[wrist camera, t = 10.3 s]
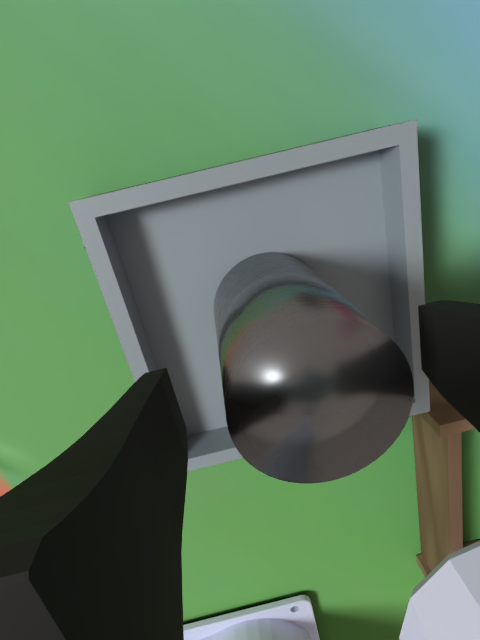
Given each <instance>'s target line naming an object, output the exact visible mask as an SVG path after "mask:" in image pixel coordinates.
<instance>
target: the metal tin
mask: <svg viewBox="0 0 480 640" xmlns="http://www.w3.org/2000/svg"><path fill="white" fill-rule="evenodd" d="M214 318H215V327H216V336H217V344H218V353H219V362H220V370H221V379H222V387H223V396H224V405H225V413H226V421H227V426H228V431H229V434H230V437H231V439H232V442H233V443H234V445H235V447H236V449H237V450H238V452H239V453H240V454H241V455H242V457H243V458H244V459H245V460H246V461H247V462H248V463H249V464H251V465H252V466H253V467H255V468H256V469H257V470H259V471H261V472H263V473H264V474H266V475H268V476H271V477H274V478H276V479H279V480H283V481H288V482H294V483H320V482H326V481H331V480H336V479H339V478H342V477H345V476H348V475H350V474H352V473H355V472H357V471H359V470H361V469H362V468H364V467H366V466H367V465H369V464H370V463H372V462H373V461H375V460H376V459H377V458H379V457H380V456H381V455H382V454H383V453H384V452H385V451H386V450H387V449H388V448H389V447H390V446H391V445H392V444H393V443H394V441H395V440H396V439H397V437H398V436H399V435H400V433H401V431H402V430H403V428H404V426H405V424H406V422H407V420H408V417H409V415H410V411H411V408H412V403H413V397H414V383H413V375H412V372H411V368H410V365H409V363H408V361H407V359H406V357H405V355H404V353H403V352H402V351H401V349H400V348H399V346H398V345H397V344H396V343H395V342H394V341H393V340H392V339H391V338H390V337H389V336H387V335H386V334H385V333H384V332H383V331H382V330H381V329H380V328H378V327H377V326H376V325H375V324H374V323H373V322H372V321H371V320H369V319H368V318H367V317H366V316H365V315H364V314H363V313H361V312H360V311H359V310H358V309H357V308H356V307H355V306H354V305H352V304H351V303H350V302H349V301H348V300H347V299H346V298H345V297H343V296H342V295H341V294H340V293H339V292H338V291H337V290H336V289H334V288H333V287H332V286H331V285H330V284H329V283H328V282H327V281H325V280H324V279H323V278H322V277H321V276H320V275H319V274H318V273H316V272H315V271H314V270H313V269H312V268H311V267H310V266H308V265H307V264H306V263H305V262H303V261H302V260H300V259H298V258H296V257H294V256H292V255H289V254H285V253H279V252H265V253H260V254H256V255H253V256H250V257H248V258H246V259H244V260H242V261H241V262H239V263H237V264H236V265H235V266H234V267H233V268H231V269H230V271H229V272H228V273H227V274H226V275H225V276H224V278H223V279H222V281H221V283H220V285H219V286H218V289H217V292H216V295H215V299H214Z"/></svg>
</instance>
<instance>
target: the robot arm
mask: <svg viewBox="0 0 480 640" xmlns="http://www.w3.org/2000/svg"><path fill="white" fill-rule="evenodd" d="M418 315H419V332H420V350H421V368H422V370H423V372H424V373H425V375H426V376H427V377H428V379H429V380H430V381H431V383H432V384H433V385H434V386H435V388H436V389H437V390H438V391H439V393H440V394H441V395H442V396H443V397H444V398H445V399H446V400H447V401H448V402H449V403H450V404H451V405H452V406H453V407H454V408H455V409H456V410H457V411H458V412H459V413H460V414H461V415H462V416H463V417H464V418H465V419H466V420H467V421H468V422H470V423H471V424H472V425H473V426H474V427H475V428H476V429H477V430H478V431H479V432H480V304H474V303H467V302H458V301H436V302H431V303H427V304H423V305H419V306H418ZM187 467H188V446H187V431H186V425H185V422H184V419H183V416H182V413H181V410H180V407H179V404H178V401H177V398H176V395H175V392H174V389H173V386H172V383H171V380H170V377H169V374H168V371H167V368H163V369H159V370H155V371H151V372H147V373H144V374H143V375H142V376H141V377H140V378H139V379H138V380H137V381H136V382H135V383H134V384H133V385H132V386H131V387H130V388H129V389H128V391H127V392H126V393H125V394H124V395H123V396H122V397H121V398H120V399H119V400H118V401H117V402H116V403H115V404H114V405H113V407H112V408H111V409H110V410H109V411H108V412H107V413H106V414H105V415H104V416H103V417H102V418H101V419H100V420H99V421H97V422H96V423H95V424H94V425H93V426H92V427H91V428H90V429H89V430H88V431H87V432H86V433H85V434H84V435H83V436H82V437H81V438H80V439H78V440H77V441H76V442H75V443H74V444H73V445H71V446H70V447H69V448H68V449H67V450H65V451H64V452H63V453H62V454H60V455H59V456H58V457H57V458H55V459H54V460H53V461H52V462H50V463H49V464H48V465H46V466H45V467H43V468H42V469H40V470H39V471H38V472H36V473H35V474H33V475H32V476H30V477H29V478H28V479H26V480H25V481H23V482H22V483H20V484H19V485H17V486H16V487H15V488H13V489H12V490H10V491H9V492H7V493H5V494H4V495H3V496H1V497H0V640H320V638H319V634H318V630H317V625H316V621H315V617H314V612H313V608H312V604H311V600H310V598H309V597H308V596H307V595H299V596H295V597H291V598H287V599H283V600H279V601H275V602H271V603H267V604H263V605H259V606H256V607H252V608H248V609H244V610H240V611H236V612H232V613H228V614H224V615H220V616H216V617H212V618H208V619H205V620H201V621H197V622H193V623H189V624H185V625H183V605H182V565H181V545H182V527H183V515H184V504H185V492H186V480H187ZM399 640H480V541H478V542H475V543H473V544H471V545H469V546H467V547H464V548H462V549H460V550H458V551H455V552H453V553H451V554H449V555H447V556H446V557H445V558H444V559H443V560H442V561H441V562H440V563H439V564H438V565H437V566H436V567H435V568H434V569H433V570H432V571H431V572H430V573H429V574H428V575H427V576H426V577H425V578H424V579H423V580H422V581H421V582H420V583H419V584H418V585H417V586H416V587H415V588H414V590H413V592H412V595H411V597H410V600H409V604H408V607H407V611H406V615H405V618H404V622H403V625H402V629H401V633H400V636H399Z"/></svg>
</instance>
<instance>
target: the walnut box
mask: <svg viewBox="0 0 480 640" xmlns="http://www.w3.org/2000/svg"><path fill="white" fill-rule="evenodd" d="M429 394H430V411H429V412H425V413H421V414H417V415H413V416H412V422H413V437H414V452H415V466H416V481H417V496H418V510H419V525H420V540H421V554H420V555H416V556H417V563H418V565H419V567H420V569H421V570H422V572H423V574H424V576H425V577H426V576H427V575H428V574H429V573H430V572H431V571H432V570H433V569H434V568H435V567H436V566H437V565H438V564H439V563H440V562H441V561H442V560H443V559H444V558H445V557H446V556H447V555H449V554H451V553H453V552H455V551H458V550H460V549H462V548H464V547H467V546H469V545H471V544H473V543H475V542H478V541H480V539H479V540H475V541H471V542H467V543H463V521H462V436H461V432H464V431H468V430H472V429H476V428H475V427H474V426H473V425H472V424H471V423H470V422H468V421H467V420H466V419H465V418H464V417H463V416H462V415H461V414H460V413H459V412H458V411H457V410H456V409H455V408H454V407H453V406H452V405H451V404H450V403H449V402H448V401H447V400H446V399H445V398H444V397H443V396H442V395H441V394H440V393H439V391H438V390H437V389H436V388H435V386H434V385H433V384H432V383H431V381H429Z"/></svg>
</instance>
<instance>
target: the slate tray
mask: <svg viewBox="0 0 480 640" xmlns="http://www.w3.org/2000/svg"><path fill="white" fill-rule="evenodd" d="M69 205H70V208H71V210H72V213H73V216H74V218H75V221H76V224H77V227H78V229H79V232H80V235H81V237H82V240H83V243H84V246H85V248H86V251H87V254H88V256H89V259H90V262H91V264H92V267H93V270H94V273H95V275H96V278H97V281H98V283H99V286H100V289H101V291H102V294H103V297H104V300H105V302H106V305H107V308H108V310H109V313H110V316H111V318H112V321H113V324H114V327H115V329H116V332H117V335H118V337H119V340H120V343H121V346H122V348H123V351H124V354H125V356H126V359H127V362H128V364H129V367H130V370H131V373H132V375H133V378H134V381H135V382H136V381H137V380H138V379H139V378H140V377H141V376H142V375H143V374H144V373H147V372H151V371H155V370H159V369H163V368H167V371H168V374H169V377H170V380H171V383H172V386H173V389H174V392H175V395H176V398H177V401H178V404H179V407H180V410H181V413H182V416H183V419H184V422H185V425H186V431H187V446H188V467H187V472H188V471H192V470H196V469H200V468H204V467H208V466H212V465H216V464H220V463H224V462H228V461H232V460H236V459H240V458H243V457H242V455H241V454H240V453H239V452H238V450H237V449H236V447H235V445H234V443H233V442H232V439H231V437H230V434H229V431H228V426H227V421H226V413H225V405H224V396H223V387H222V379H221V370H220V362H219V353H218V344H217V336H216V327H215V318H214V299H215V295H216V292H217V289H218V286H219V285H220V283H221V281H222V279H223V278H224V276H225V275H226V274H227V273H228V272H229V271H230V269H231V268H233V267H234V266H235V265H236V264H237V263H239V262H241V261H242V260H244V259H246V258H248V257H250V256H253V255H256V254H260V253H265V252H279V253H285V254H289V255H292V256H294V257H296V258H298V259H300V260H302V261H303V262H305V263H306V264H307V265H308V266H310V267H311V268H312V269H313V270H314V271H315V272H316V273H318V274H319V275H320V276H321V277H322V278H323V279H324V280H325V281H327V282H328V283H329V284H330V285H331V286H332V287H333V288H334V289H336V290H337V291H338V292H339V293H340V294H341V295H342V296H343V297H345V298H346V299H347V300H348V301H349V302H350V303H351V304H352V305H354V306H355V307H356V308H357V309H358V310H359V311H360V312H361V313H363V314H364V315H365V316H366V317H367V318H368V319H369V320H371V321H372V322H373V323H374V324H375V325H376V326H377V327H378V328H380V329H381V330H382V331H383V332H384V333H385V334H386V335H387V336H389V337H390V338H391V339H392V340H393V341H394V342H395V343H396V344H397V345H398V346H399V348H400V349H401V351H402V352H403V353H404V355H405V357H406V359H407V361H408V363H409V365H410V368H411V372H412V375H413V383H414V397H413V403H412V408H411V411H410V415H409V416H413V415H417V414H421V413H425V412H429V411H430V394H429V379H428V377H427V376H426V375H425V373H424V372H423V370H422V368H421V350H420V332H419V315H418V306H419V305H423V304H425V288H424V266H423V245H422V224H421V202H420V181H419V160H418V139H417V120H412V121H408V122H403V123H399V124H394V125H389V126H385V127H380V128H376V129H372V130H368V131H363V132H359V133H355V134H351V135H347V136H342V137H338V138H334V139H330V140H326V141H321V142H317V143H313V144H309V145H305V146H300V147H296V148H292V149H288V150H284V151H279V152H275V153H271V154H267V155H263V156H259V157H254V158H250V159H246V160H242V161H238V162H233V163H229V164H225V165H221V166H217V167H212V168H208V169H204V170H200V171H196V172H191V173H187V174H183V175H179V176H175V177H170V178H166V179H162V180H158V181H154V182H150V183H145V184H141V185H137V186H133V187H129V188H124V189H120V190H116V191H112V192H108V193H103V194H99V195H95V196H91V197H87V198H83V199H80V200H76V201H73V202H69Z"/></svg>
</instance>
